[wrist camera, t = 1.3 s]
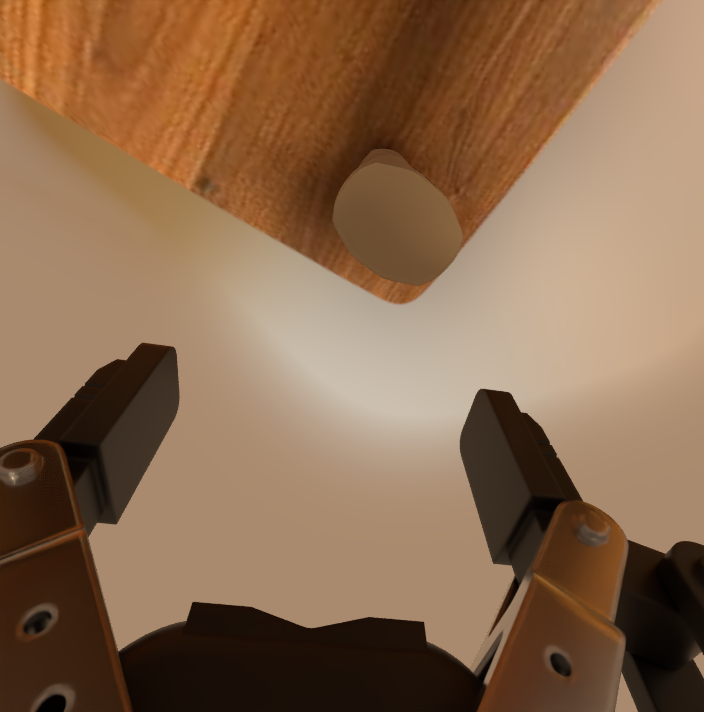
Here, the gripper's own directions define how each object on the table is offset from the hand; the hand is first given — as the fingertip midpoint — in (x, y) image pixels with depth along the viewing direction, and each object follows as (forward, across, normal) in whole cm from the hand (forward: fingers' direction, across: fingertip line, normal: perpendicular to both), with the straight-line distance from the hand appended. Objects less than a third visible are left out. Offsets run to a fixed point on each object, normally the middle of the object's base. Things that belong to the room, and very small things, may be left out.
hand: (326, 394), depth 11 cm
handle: (+26, -3, -2) cm, 27 cm away
